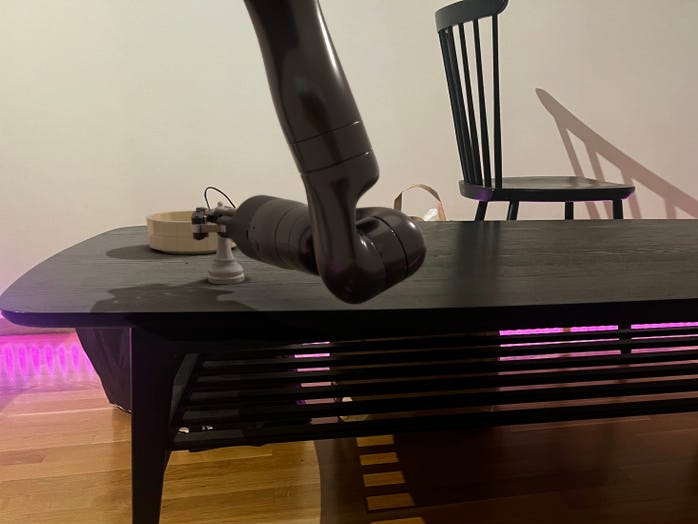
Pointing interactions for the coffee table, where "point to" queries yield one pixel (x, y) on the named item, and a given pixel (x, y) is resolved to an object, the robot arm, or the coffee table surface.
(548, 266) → the coffee table surface
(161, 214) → the bowl
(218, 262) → the chess piece
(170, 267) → the coffee table surface
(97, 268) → the coffee table surface
